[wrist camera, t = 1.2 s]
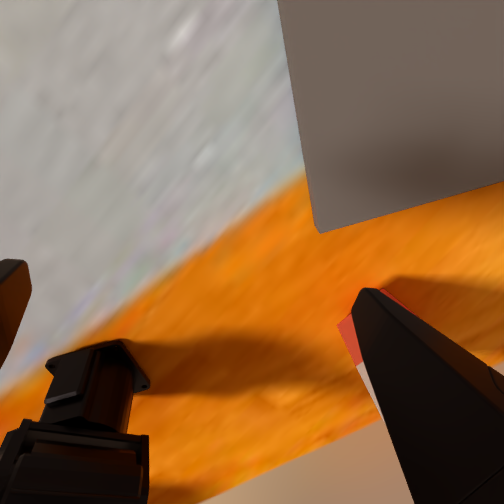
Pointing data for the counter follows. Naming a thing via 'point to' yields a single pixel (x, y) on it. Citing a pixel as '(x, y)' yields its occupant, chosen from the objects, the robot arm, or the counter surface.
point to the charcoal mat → (395, 101)
